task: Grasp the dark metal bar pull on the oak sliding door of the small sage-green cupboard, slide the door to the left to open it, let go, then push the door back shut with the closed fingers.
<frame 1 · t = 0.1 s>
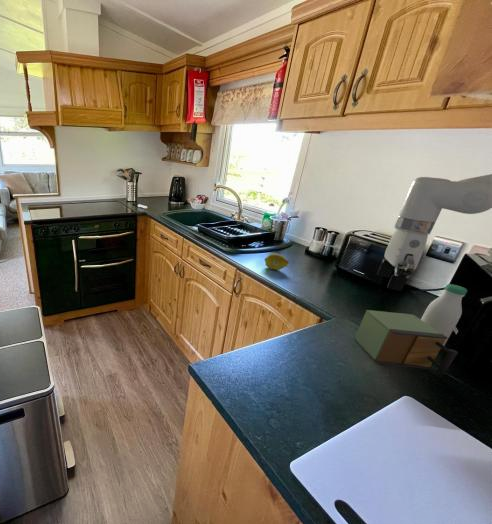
hand: (388, 282, 84), 22 cm above the countertop, tool pointing down, fingers open, 9 cm apart
cupboard: (387, 351, 89), on the countertop
milk bottle: (427, 340, 96), on the countertop
sliding door: (431, 357, 78), point 6 cm above the countertop, slide at 0.0 cm
lemon: (273, 269, 145), on the countertop
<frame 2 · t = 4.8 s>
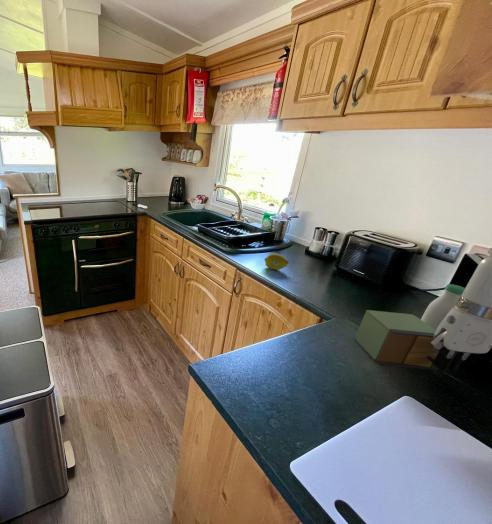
hand: (443, 367, 76), 5 cm above the countertop, tool pointing down, fingers closed
sliding door: (431, 357, 78), point 6 cm above the countertop, slide at 0.0 cm, touching gripper
everything else where it was.
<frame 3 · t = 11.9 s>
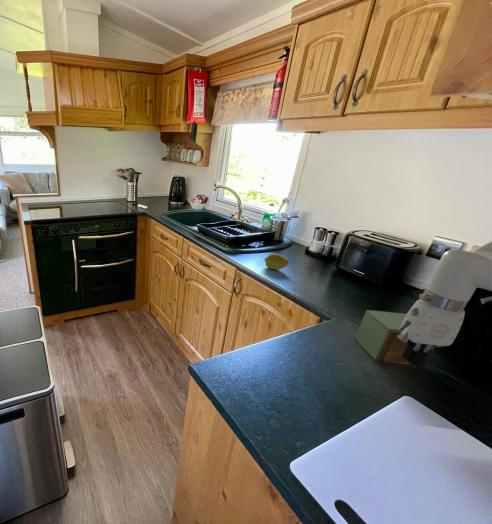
hand: (409, 360, 77), 6 cm above the countertop, tool pointing down, fingers closed
sliding door: (410, 355, 78), point 6 cm above the countertop, slide at 5.7 cm, touching gripper
everything else where it was.
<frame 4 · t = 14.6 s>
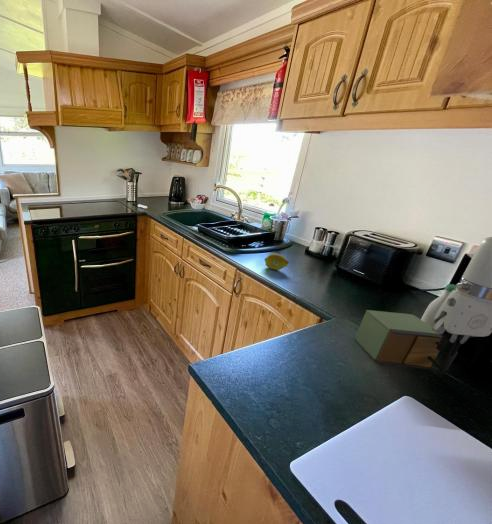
hand: (444, 352, 75), 9 cm above the countertop, tool pointing down, fingers closed
sliding door: (432, 358, 78), point 6 cm above the countertop, slide at -0.1 cm
everything else where it was.
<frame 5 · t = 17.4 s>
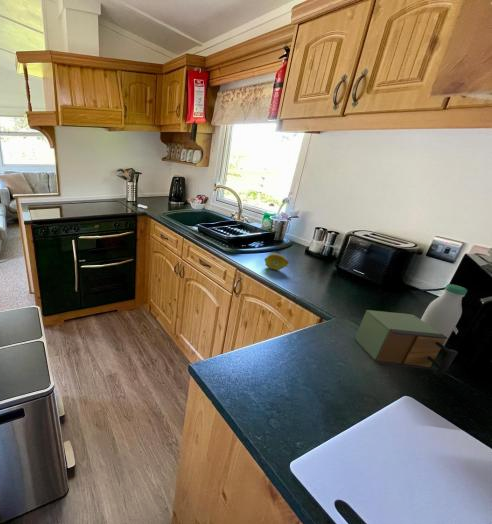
nothing on the countertop moved.
at the end: sliding door pulled out 6.4 cm at the most during the clip, back to where it started at the end; sliding door slide at 0.0 cm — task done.
